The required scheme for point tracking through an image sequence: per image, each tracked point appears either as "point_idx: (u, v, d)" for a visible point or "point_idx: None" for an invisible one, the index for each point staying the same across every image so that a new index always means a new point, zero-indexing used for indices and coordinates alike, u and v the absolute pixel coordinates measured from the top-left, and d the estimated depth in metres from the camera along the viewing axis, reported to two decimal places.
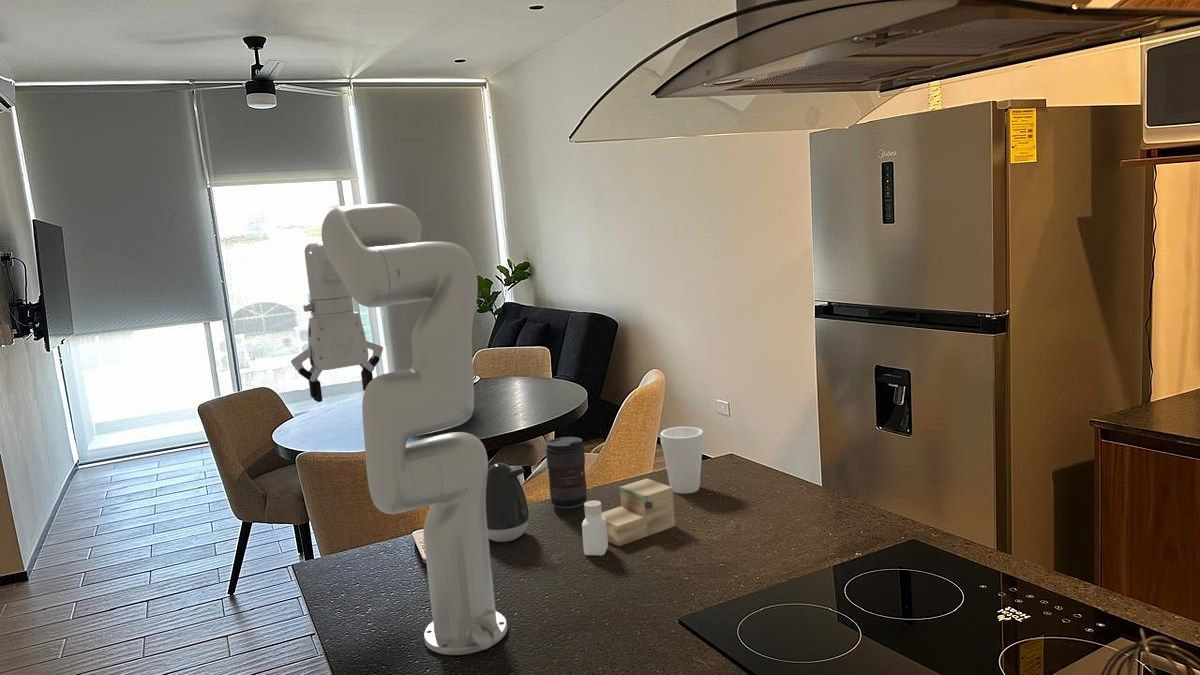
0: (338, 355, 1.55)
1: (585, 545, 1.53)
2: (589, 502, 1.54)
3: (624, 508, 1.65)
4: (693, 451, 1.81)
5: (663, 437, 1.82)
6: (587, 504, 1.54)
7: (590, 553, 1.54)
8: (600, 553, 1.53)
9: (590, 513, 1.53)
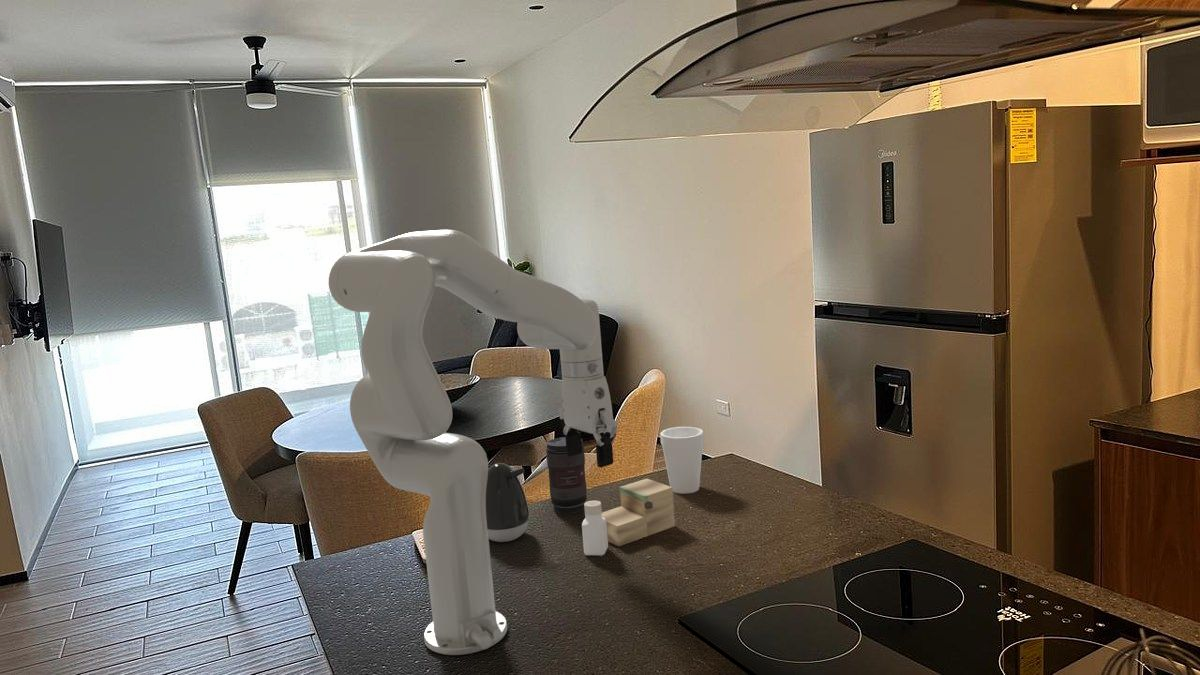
0: None
1: (585, 545, 1.53)
2: (589, 502, 1.54)
3: (624, 508, 1.65)
4: (693, 451, 1.81)
5: (663, 437, 1.82)
6: (587, 504, 1.54)
7: (590, 553, 1.54)
8: (600, 553, 1.53)
9: (590, 513, 1.53)
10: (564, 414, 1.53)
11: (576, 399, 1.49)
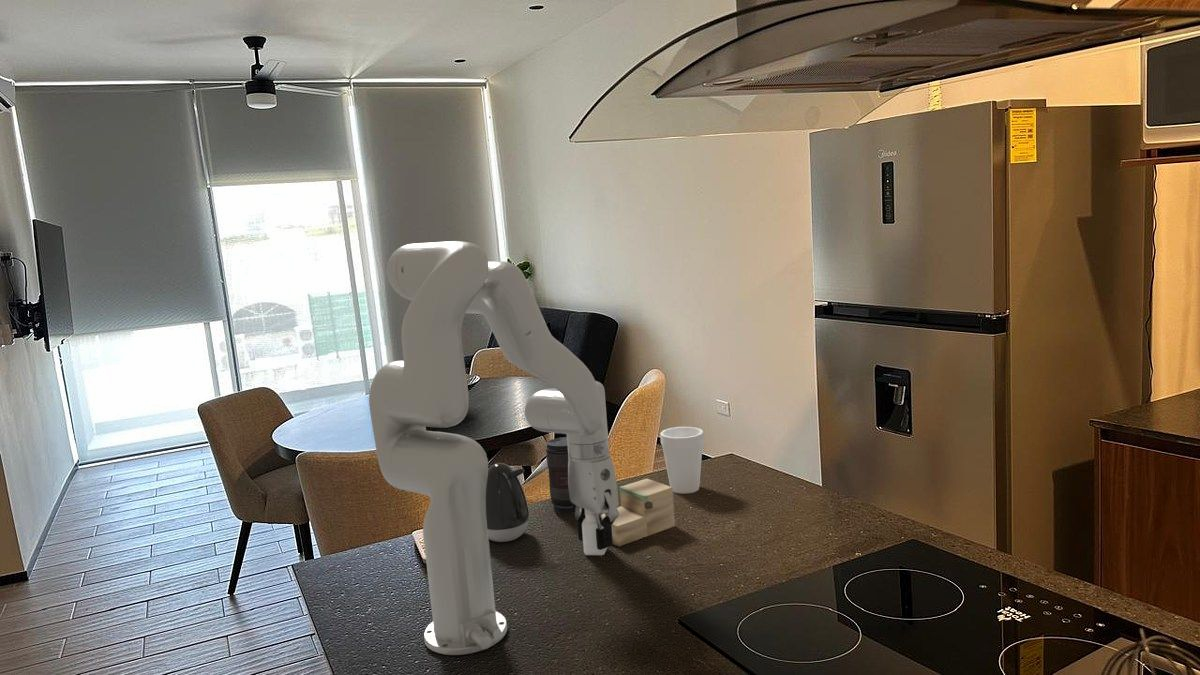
0: None
1: (585, 545, 1.53)
2: None
3: (624, 508, 1.65)
4: (693, 451, 1.81)
5: (663, 437, 1.82)
6: None
7: (590, 553, 1.54)
8: (600, 553, 1.53)
9: (590, 513, 1.53)
10: (570, 492, 1.56)
11: (582, 479, 1.51)
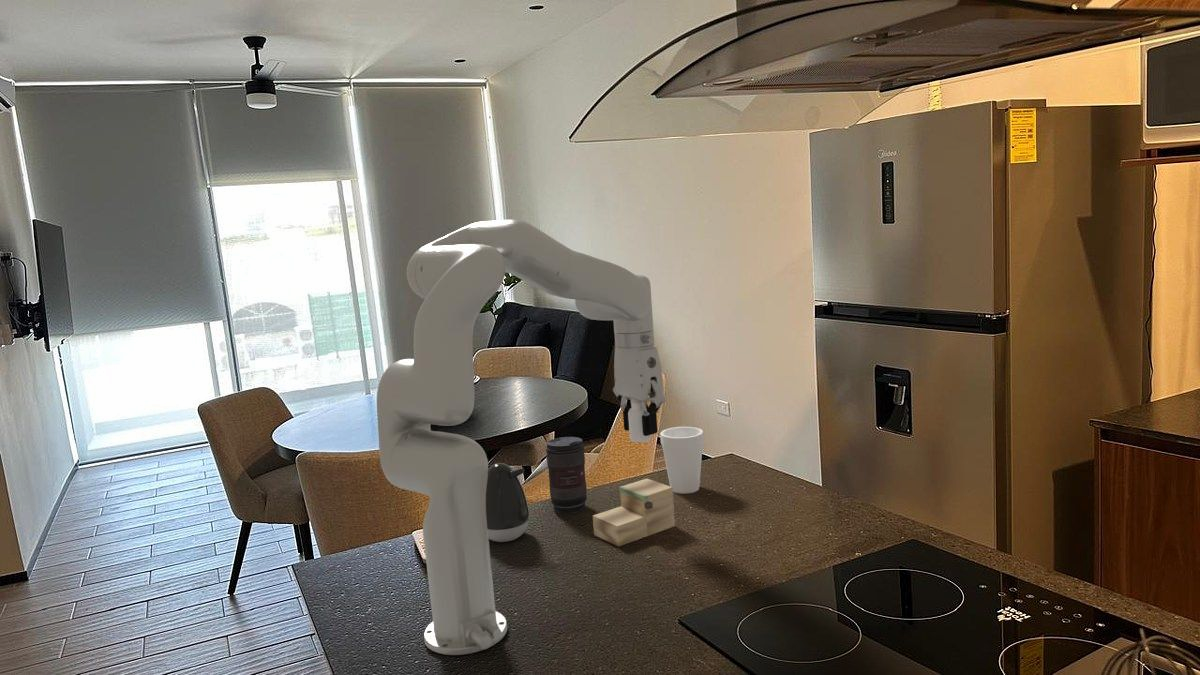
0: None
1: (631, 432, 1.61)
2: None
3: (624, 508, 1.65)
4: (693, 451, 1.81)
5: (663, 437, 1.82)
6: None
7: (636, 440, 1.62)
8: (646, 439, 1.61)
9: (637, 401, 1.61)
10: (616, 383, 1.64)
11: (629, 368, 1.59)
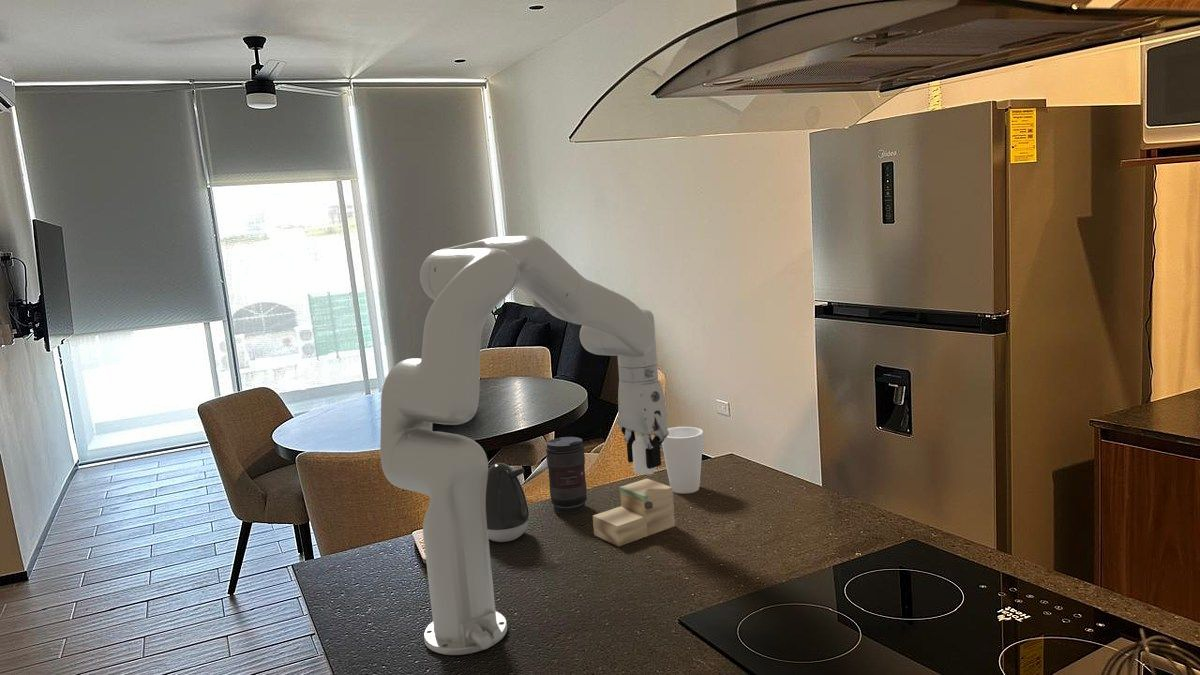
0: None
1: (635, 465, 1.63)
2: None
3: (624, 508, 1.65)
4: (693, 451, 1.81)
5: None
6: None
7: (640, 472, 1.63)
8: (649, 472, 1.62)
9: (641, 434, 1.62)
10: (620, 416, 1.65)
11: (633, 402, 1.60)
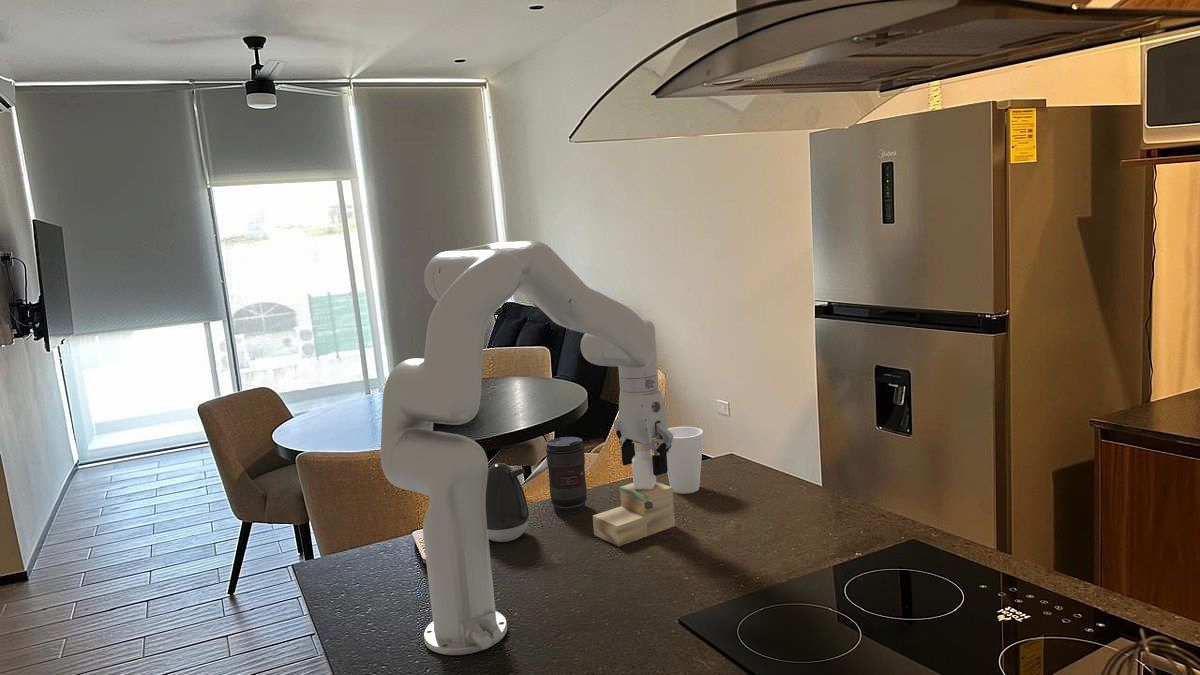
0: None
1: (635, 480, 1.63)
2: None
3: (624, 508, 1.65)
4: (693, 451, 1.81)
5: None
6: None
7: (639, 487, 1.63)
8: (649, 487, 1.63)
9: (640, 449, 1.62)
10: (621, 426, 1.65)
11: (634, 412, 1.60)
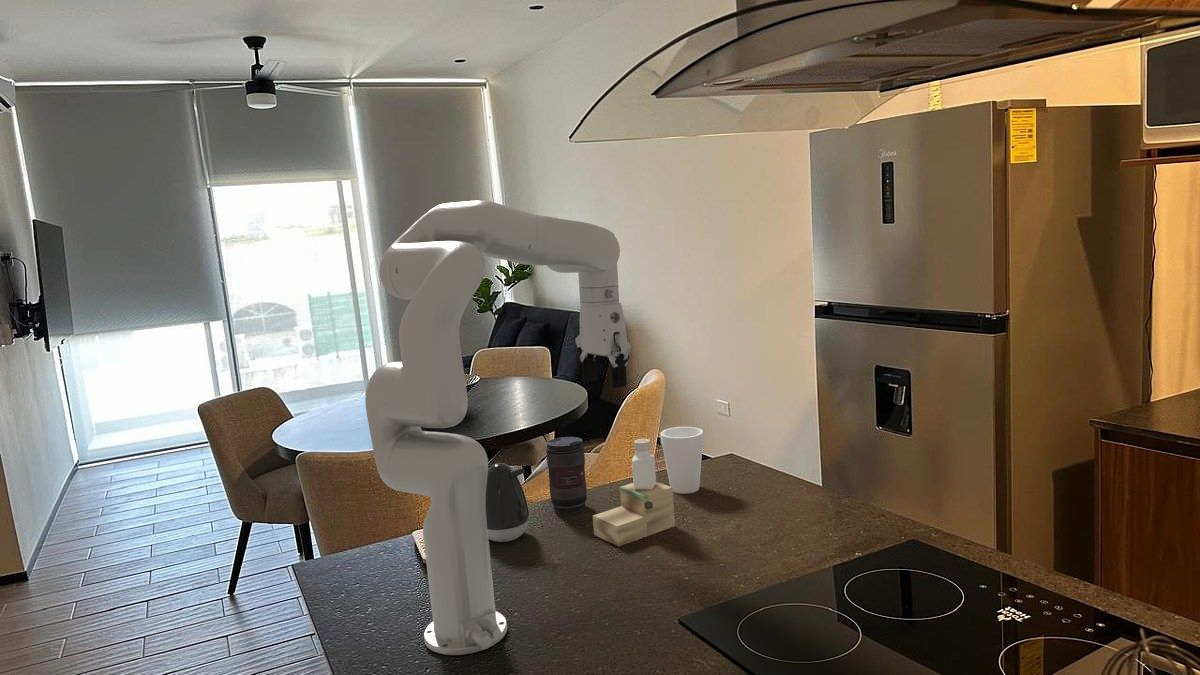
0: None
1: (635, 480, 1.63)
2: (639, 440, 1.64)
3: (624, 508, 1.65)
4: (693, 451, 1.81)
5: (663, 437, 1.82)
6: (637, 441, 1.63)
7: (639, 487, 1.63)
8: (649, 487, 1.63)
9: (640, 449, 1.62)
10: (581, 340, 1.62)
11: (593, 324, 1.58)
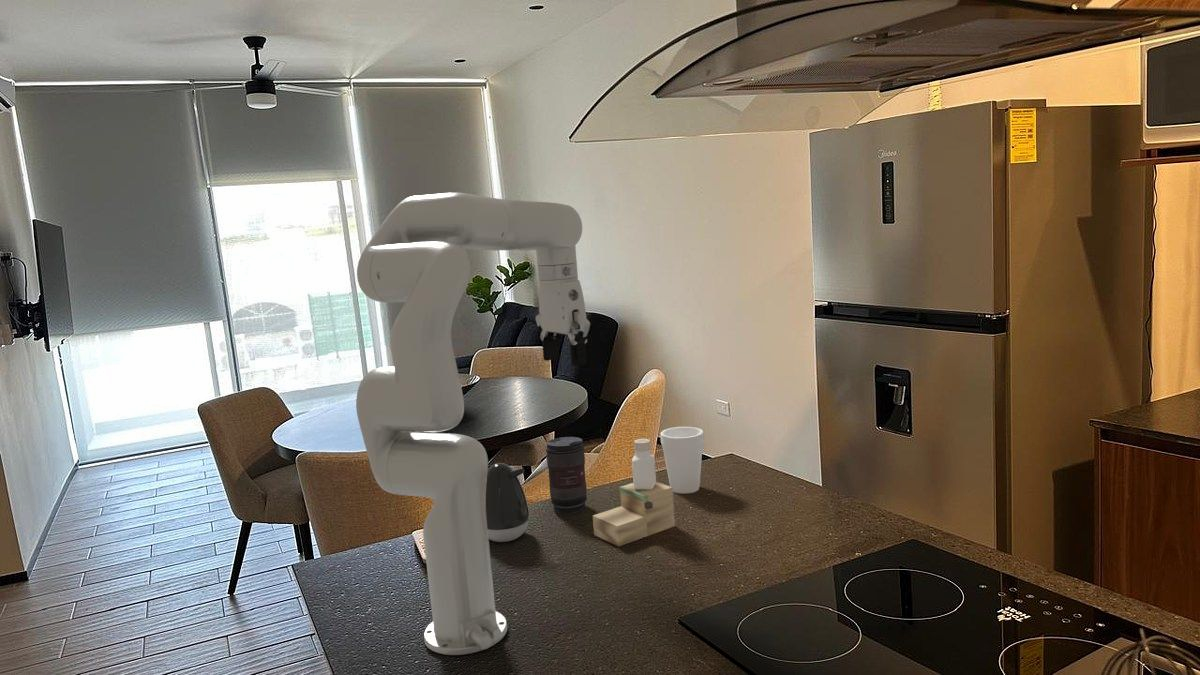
0: None
1: (635, 480, 1.63)
2: (639, 440, 1.64)
3: (624, 508, 1.65)
4: (693, 451, 1.81)
5: (663, 437, 1.82)
6: (637, 441, 1.63)
7: (639, 487, 1.63)
8: (649, 487, 1.63)
9: (640, 449, 1.62)
10: (541, 319, 1.62)
11: (551, 302, 1.57)
